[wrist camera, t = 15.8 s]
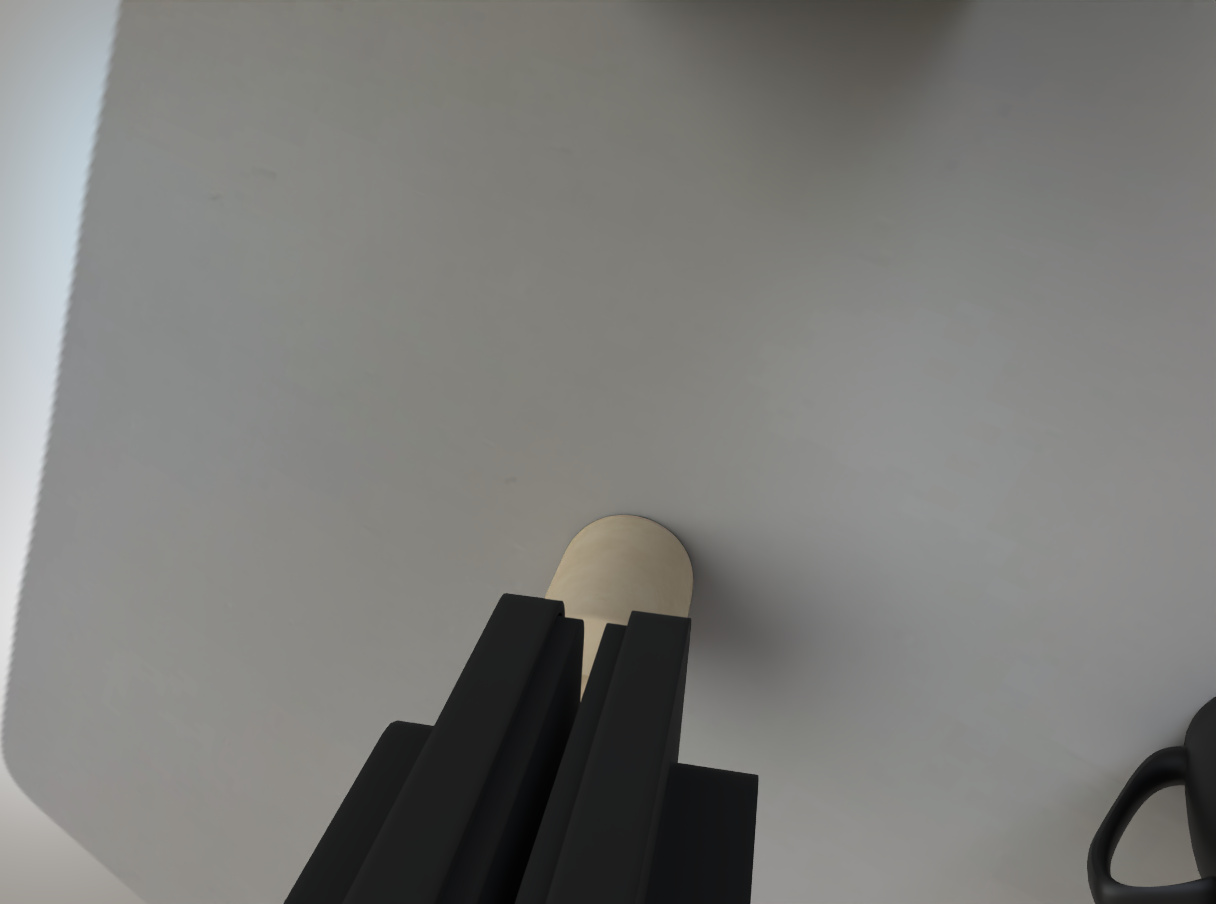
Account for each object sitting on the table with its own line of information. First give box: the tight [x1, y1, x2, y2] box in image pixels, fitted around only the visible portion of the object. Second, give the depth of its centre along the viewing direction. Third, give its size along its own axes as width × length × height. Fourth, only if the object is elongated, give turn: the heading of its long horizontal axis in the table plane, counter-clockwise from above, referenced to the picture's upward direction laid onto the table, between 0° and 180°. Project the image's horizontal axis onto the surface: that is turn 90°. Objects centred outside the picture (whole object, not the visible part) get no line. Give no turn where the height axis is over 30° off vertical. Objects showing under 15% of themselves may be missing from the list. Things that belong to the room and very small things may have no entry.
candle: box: [545, 515, 693, 702], centre depth 43 cm, size 6×6×10 cm
